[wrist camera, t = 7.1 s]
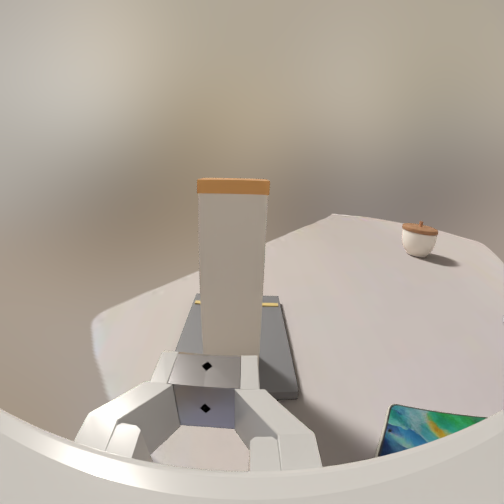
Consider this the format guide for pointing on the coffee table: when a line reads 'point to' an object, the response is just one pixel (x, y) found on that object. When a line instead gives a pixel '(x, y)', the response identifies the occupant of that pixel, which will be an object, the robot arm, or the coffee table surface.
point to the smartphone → (418, 427)
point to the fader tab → (232, 263)
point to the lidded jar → (418, 239)
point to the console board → (271, 347)
